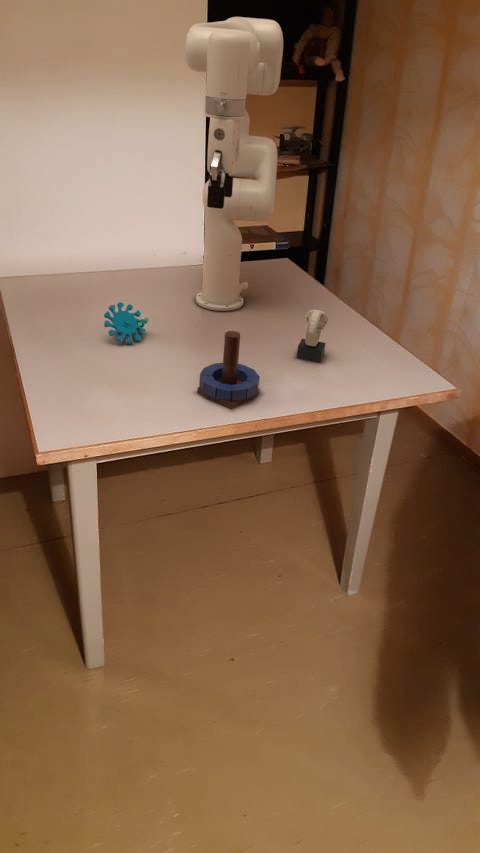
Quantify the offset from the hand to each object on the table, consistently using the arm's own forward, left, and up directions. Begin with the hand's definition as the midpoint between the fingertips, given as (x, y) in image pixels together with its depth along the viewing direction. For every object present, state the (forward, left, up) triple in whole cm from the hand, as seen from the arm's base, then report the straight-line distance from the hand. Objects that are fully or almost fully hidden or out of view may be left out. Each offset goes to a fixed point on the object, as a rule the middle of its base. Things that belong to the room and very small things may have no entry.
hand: (219, 201), depth 134 cm
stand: (+12, +15, -33) cm, 38 cm away
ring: (+11, +15, -32) cm, 37 cm away
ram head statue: (-15, +17, -34) cm, 40 cm away
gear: (+9, -18, -34) cm, 39 cm away
